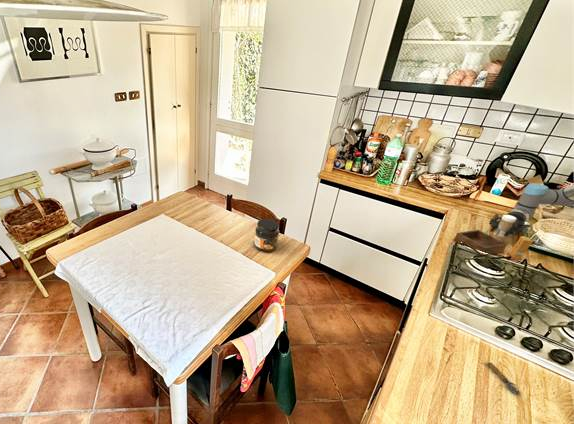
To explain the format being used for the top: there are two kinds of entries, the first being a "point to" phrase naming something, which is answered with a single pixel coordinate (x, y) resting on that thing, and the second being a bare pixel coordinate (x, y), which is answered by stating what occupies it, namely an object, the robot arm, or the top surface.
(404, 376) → the top surface
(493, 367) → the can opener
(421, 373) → the top surface
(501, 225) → the sprinkles bottle
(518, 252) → the supplement box
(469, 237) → the holder
